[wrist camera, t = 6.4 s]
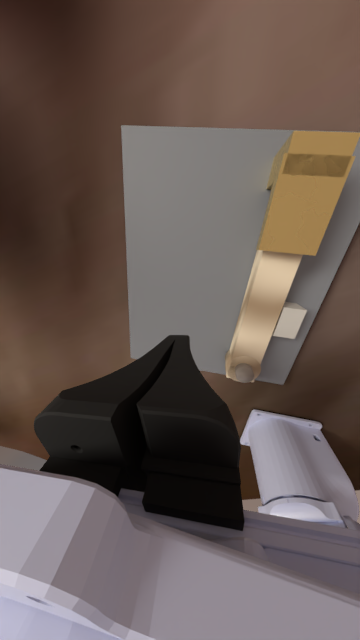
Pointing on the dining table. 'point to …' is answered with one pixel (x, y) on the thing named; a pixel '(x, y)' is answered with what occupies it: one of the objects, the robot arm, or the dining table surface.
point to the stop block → (289, 320)
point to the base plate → (213, 239)
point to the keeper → (305, 190)
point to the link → (260, 312)
